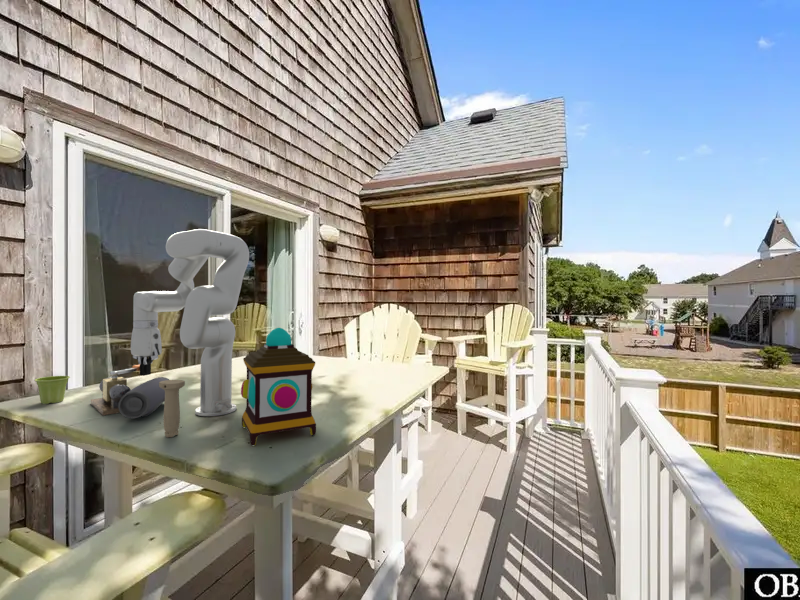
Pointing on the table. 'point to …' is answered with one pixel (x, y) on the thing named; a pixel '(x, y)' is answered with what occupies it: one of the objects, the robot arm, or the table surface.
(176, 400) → the handle
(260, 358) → the decorative lantern
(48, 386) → the plant pot
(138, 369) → the lever
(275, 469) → the table surface
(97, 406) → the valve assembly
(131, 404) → the bluetooth speaker
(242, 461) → the table surface
